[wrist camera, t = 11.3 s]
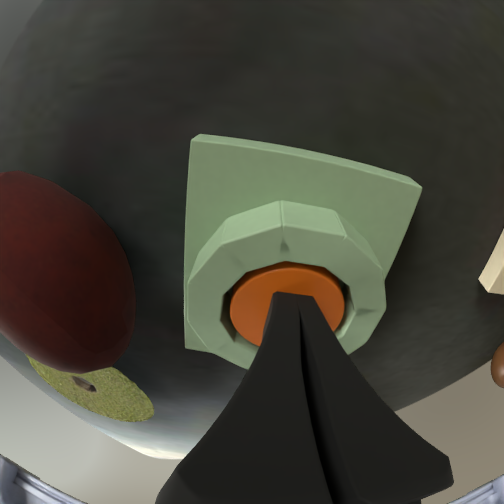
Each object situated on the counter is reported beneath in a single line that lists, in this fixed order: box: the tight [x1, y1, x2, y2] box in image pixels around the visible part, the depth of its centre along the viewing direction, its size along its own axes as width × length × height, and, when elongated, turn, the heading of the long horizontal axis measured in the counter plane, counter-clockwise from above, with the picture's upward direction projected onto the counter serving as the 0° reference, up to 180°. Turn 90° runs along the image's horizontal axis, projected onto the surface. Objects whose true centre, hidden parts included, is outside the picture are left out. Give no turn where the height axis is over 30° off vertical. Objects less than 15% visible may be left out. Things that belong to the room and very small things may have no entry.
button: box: [230, 261, 345, 346], centre depth 10 cm, size 4×4×2 cm
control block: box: [184, 134, 422, 369], centre depth 11 cm, size 10×8×3 cm
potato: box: [0, 170, 136, 374], centre depth 9 cm, size 7×10×6 cm
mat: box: [26, 354, 154, 422], centre depth 17 cm, size 11×11×2 cm
